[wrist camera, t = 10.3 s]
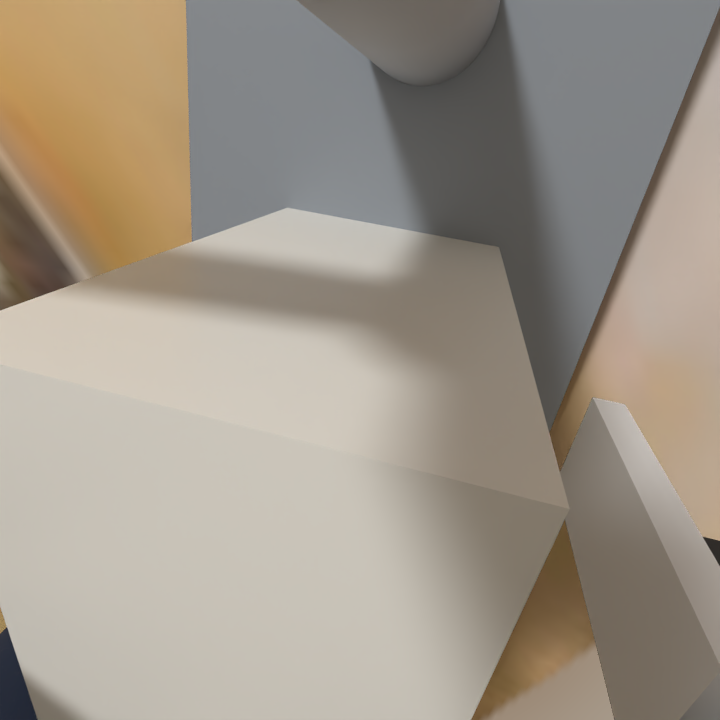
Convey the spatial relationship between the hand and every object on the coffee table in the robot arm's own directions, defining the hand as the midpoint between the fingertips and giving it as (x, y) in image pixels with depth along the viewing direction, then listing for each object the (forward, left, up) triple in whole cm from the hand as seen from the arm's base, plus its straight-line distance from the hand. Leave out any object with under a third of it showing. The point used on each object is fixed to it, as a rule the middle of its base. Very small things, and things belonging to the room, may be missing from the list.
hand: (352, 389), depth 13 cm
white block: (0, 0, -2) cm, 2 cm away
